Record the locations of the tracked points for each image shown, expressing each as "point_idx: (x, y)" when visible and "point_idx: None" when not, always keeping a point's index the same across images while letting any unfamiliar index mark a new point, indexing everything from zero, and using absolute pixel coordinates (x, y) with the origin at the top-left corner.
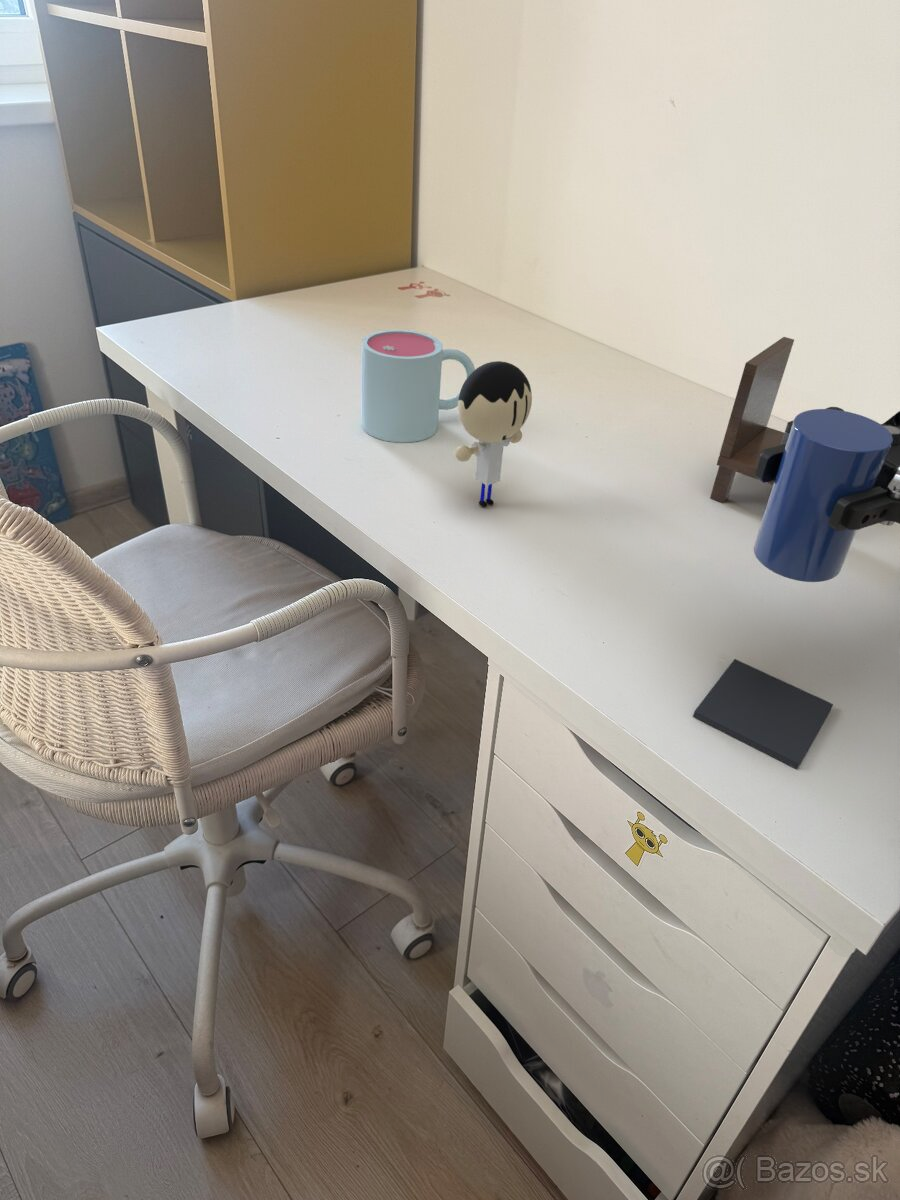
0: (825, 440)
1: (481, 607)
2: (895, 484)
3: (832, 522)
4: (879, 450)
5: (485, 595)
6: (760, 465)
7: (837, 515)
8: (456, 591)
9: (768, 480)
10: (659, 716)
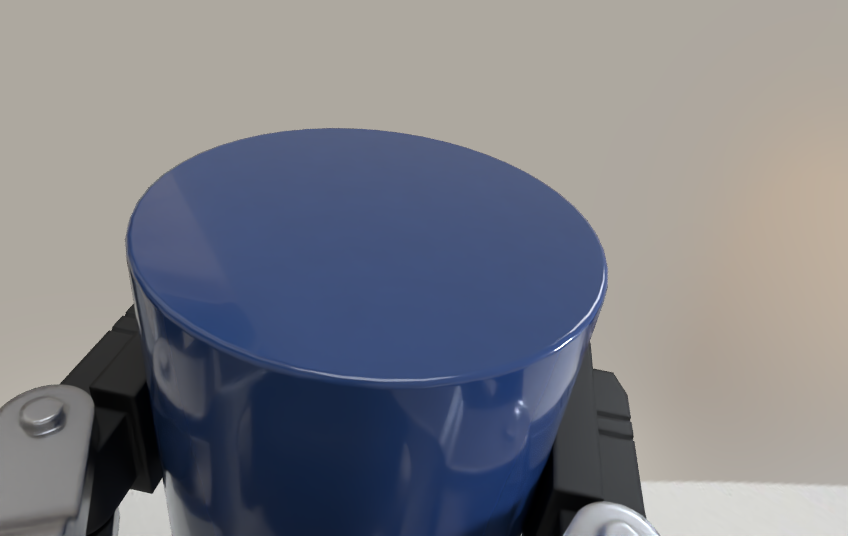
0: (366, 142)
1: (731, 500)
2: (60, 443)
3: None
4: (163, 177)
5: (766, 527)
6: None
7: None
8: (784, 497)
9: None
10: None
